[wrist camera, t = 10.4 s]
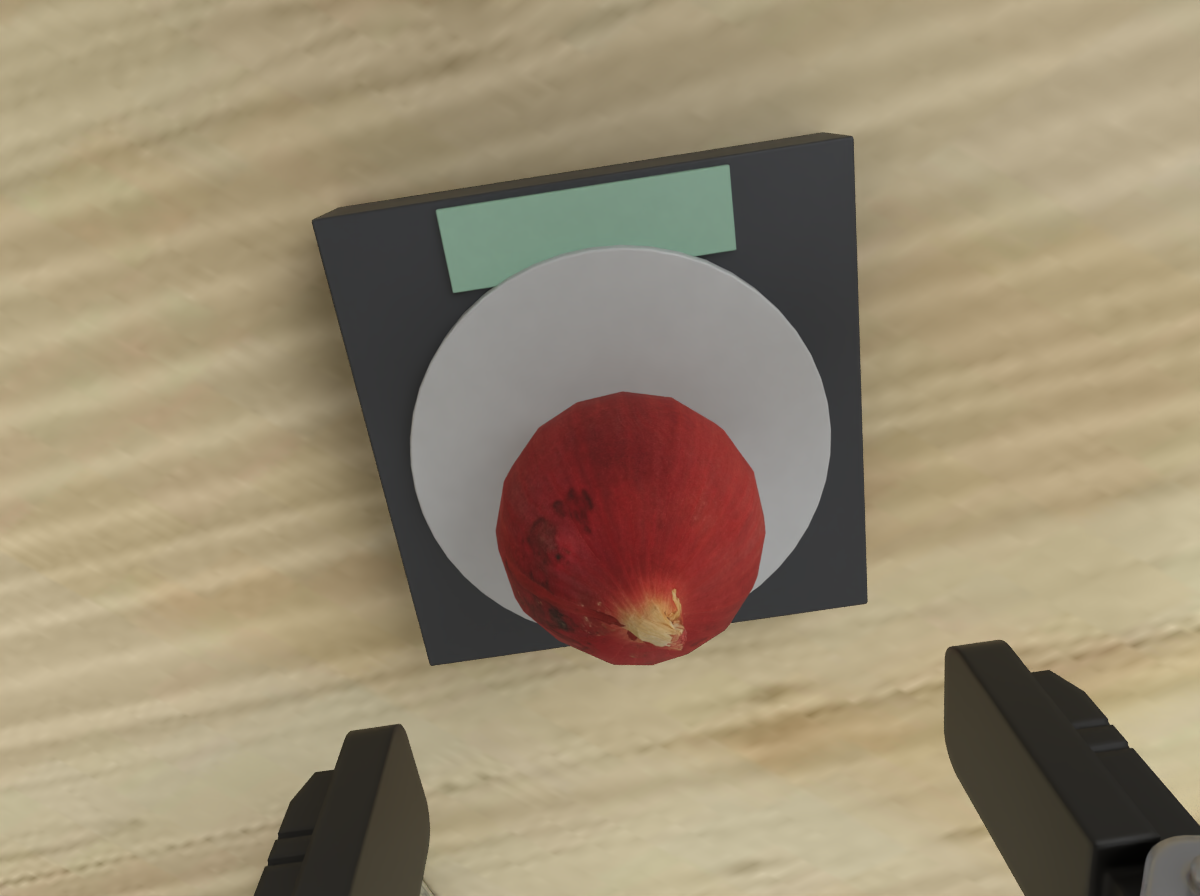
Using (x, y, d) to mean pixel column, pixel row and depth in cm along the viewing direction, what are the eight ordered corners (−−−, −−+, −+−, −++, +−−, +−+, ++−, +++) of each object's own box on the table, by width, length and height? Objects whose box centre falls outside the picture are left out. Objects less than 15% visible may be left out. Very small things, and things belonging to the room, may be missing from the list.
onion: (545, 579, 24) (535, 799, 16) (478, 388, 21) (431, 541, 14) (751, 526, 23) (837, 726, 16) (703, 326, 21) (777, 448, 14)
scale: (336, 207, 23) (303, 223, 20) (824, 131, 22) (862, 136, 20) (441, 619, 28) (426, 679, 25) (842, 561, 27) (875, 615, 24)
